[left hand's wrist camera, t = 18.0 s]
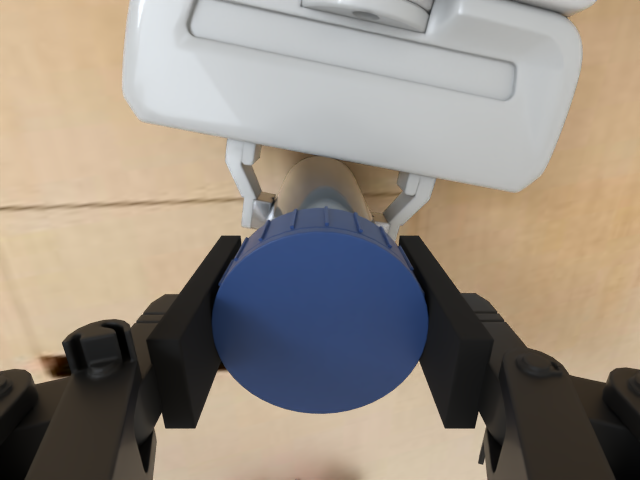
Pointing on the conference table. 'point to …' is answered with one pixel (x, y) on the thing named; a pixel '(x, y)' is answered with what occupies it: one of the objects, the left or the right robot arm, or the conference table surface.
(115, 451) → the left robot arm
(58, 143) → the conference table surface
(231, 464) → the conference table surface
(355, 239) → the lid
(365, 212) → the jar
